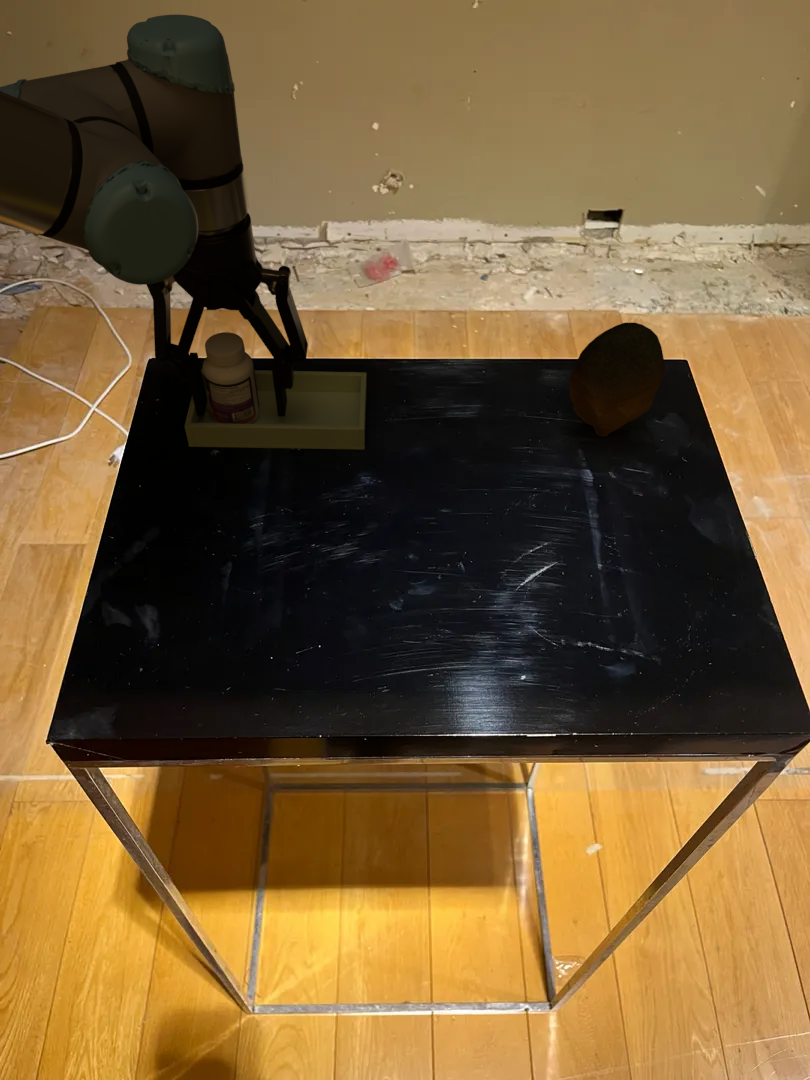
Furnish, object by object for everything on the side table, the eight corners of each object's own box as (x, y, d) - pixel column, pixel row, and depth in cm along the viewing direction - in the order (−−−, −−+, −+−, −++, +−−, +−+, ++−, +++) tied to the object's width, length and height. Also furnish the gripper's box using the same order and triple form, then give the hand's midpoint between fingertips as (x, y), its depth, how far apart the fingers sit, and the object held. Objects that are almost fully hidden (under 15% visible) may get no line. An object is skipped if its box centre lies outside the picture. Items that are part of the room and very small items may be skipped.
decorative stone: (636, 419, 95) (672, 308, 84) (645, 456, 91) (685, 344, 80) (553, 417, 95) (577, 305, 84) (559, 453, 91) (585, 341, 80)
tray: (189, 446, 90) (184, 426, 88) (202, 389, 97) (198, 368, 94) (364, 449, 91) (364, 429, 88) (366, 392, 97) (366, 372, 95)
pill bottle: (221, 395, 95) (208, 324, 88) (266, 402, 95) (257, 331, 87) (204, 426, 92) (190, 355, 84) (251, 434, 91) (240, 362, 84)
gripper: (327, 197, 77) (338, 387, 95) (101, 194, 77) (154, 385, 94) (322, 239, 73) (335, 431, 90) (81, 236, 72) (140, 430, 90)
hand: (242, 407), depth 92 cm, fingers open, 8 cm apart
